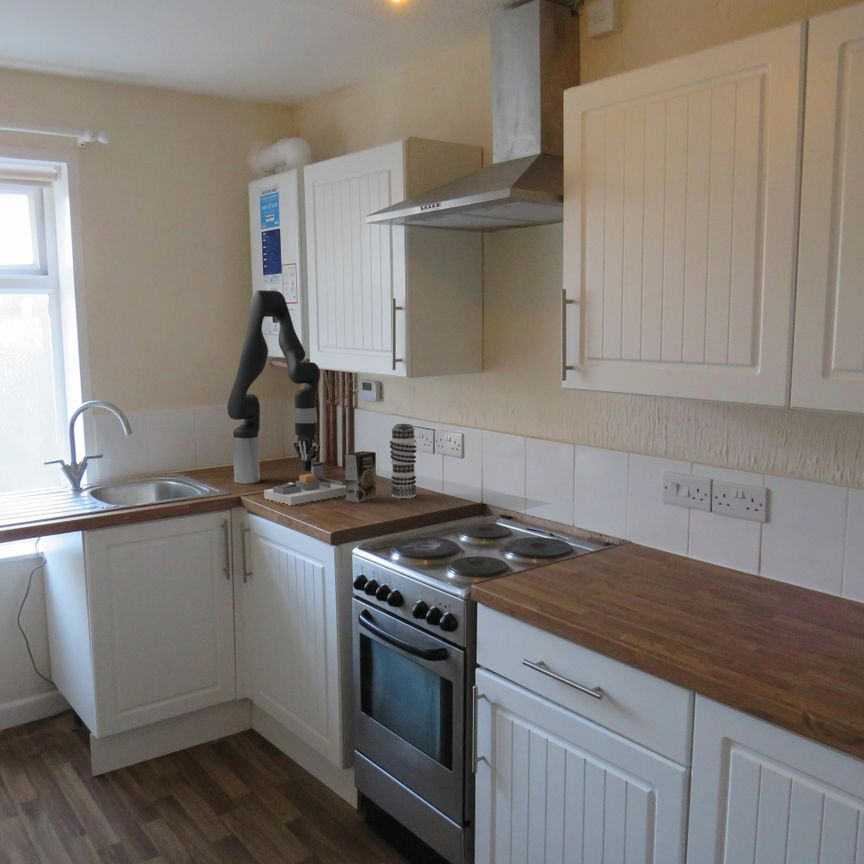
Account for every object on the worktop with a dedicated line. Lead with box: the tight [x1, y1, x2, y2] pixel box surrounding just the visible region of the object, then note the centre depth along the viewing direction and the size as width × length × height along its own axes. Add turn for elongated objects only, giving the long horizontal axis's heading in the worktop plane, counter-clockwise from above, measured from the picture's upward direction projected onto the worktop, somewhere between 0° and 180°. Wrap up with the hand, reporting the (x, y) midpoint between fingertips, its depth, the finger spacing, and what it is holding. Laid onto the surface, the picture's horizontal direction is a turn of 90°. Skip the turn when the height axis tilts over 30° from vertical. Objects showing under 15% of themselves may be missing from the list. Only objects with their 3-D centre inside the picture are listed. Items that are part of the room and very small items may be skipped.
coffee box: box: [344, 450, 377, 504], centre depth 289 cm, size 9×6×16 cm
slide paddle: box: [310, 461, 325, 482], centre depth 305 cm, size 2×4×7 cm, turn 134°
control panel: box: [263, 477, 346, 506], centre depth 295 cm, size 16×25×6 cm, turn 134°
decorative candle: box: [389, 423, 417, 499], centre depth 294 cm, size 9×9×25 cm
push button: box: [298, 473, 316, 483], centre depth 295 cm, size 4×4×2 cm
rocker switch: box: [277, 482, 296, 489], centre depth 289 cm, size 4×5×1 cm
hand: (307, 470), depth 294 cm, fingers closed
